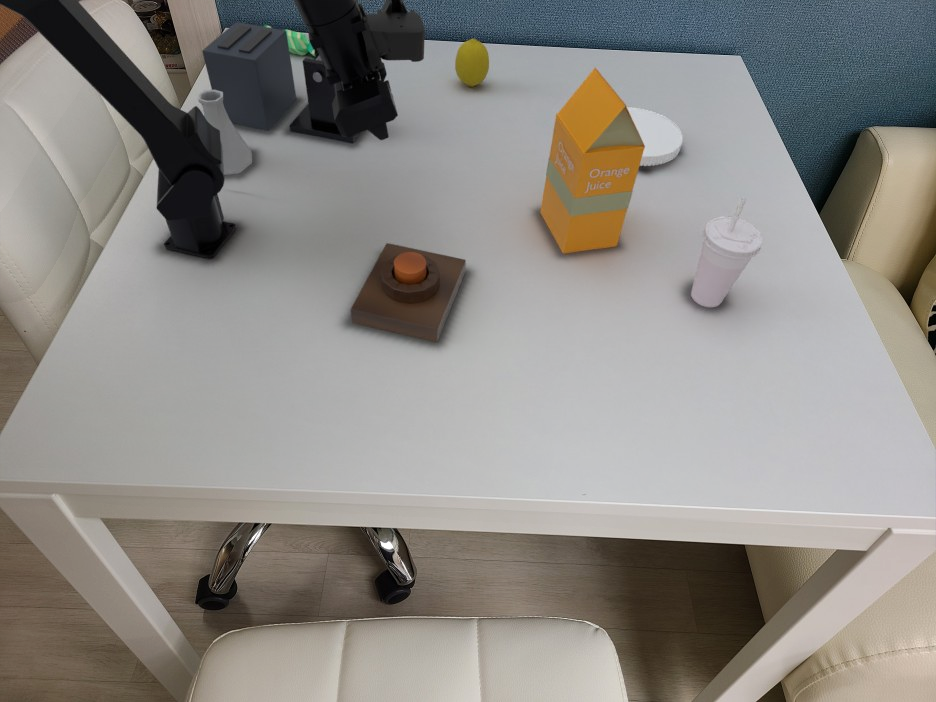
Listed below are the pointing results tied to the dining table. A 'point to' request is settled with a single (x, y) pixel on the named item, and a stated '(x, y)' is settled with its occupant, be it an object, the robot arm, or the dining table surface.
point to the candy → (298, 43)
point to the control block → (409, 295)
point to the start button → (410, 268)
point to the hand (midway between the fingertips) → (384, 137)
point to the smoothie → (724, 256)
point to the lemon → (472, 62)
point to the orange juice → (591, 168)
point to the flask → (225, 132)
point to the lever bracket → (318, 105)
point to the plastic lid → (656, 136)
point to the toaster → (252, 74)
